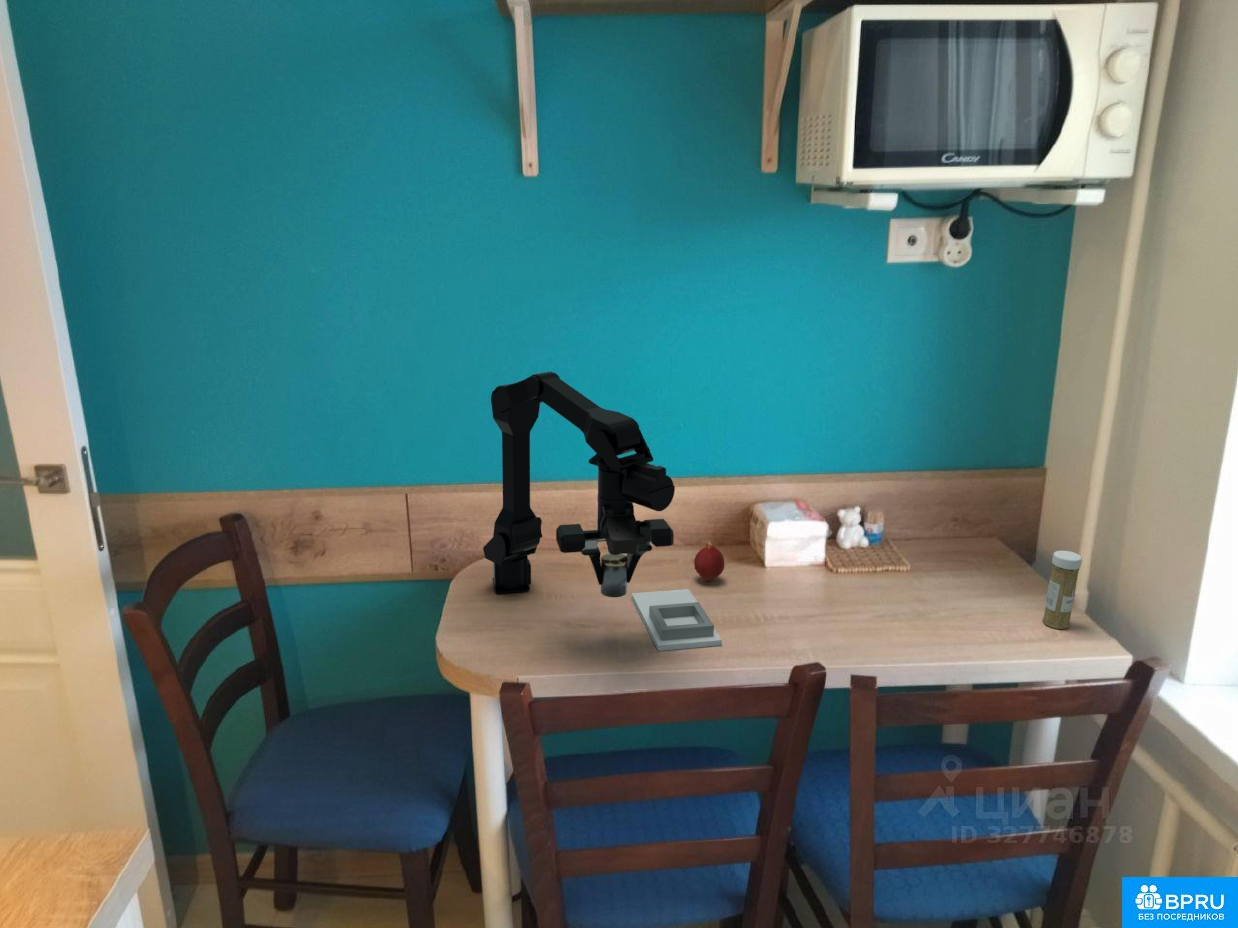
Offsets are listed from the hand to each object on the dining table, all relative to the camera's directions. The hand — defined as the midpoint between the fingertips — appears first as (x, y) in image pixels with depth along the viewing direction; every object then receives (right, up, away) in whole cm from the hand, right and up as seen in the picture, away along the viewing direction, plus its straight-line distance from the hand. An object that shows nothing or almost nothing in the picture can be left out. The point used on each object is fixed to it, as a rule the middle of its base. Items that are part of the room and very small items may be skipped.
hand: (613, 582), depth 154 cm
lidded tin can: (0, -1, 0) cm, 2 cm away
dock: (+11, -8, +9) cm, 16 cm away
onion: (+18, -3, +26) cm, 32 cm away
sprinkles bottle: (+79, -9, +11) cm, 80 cm away
